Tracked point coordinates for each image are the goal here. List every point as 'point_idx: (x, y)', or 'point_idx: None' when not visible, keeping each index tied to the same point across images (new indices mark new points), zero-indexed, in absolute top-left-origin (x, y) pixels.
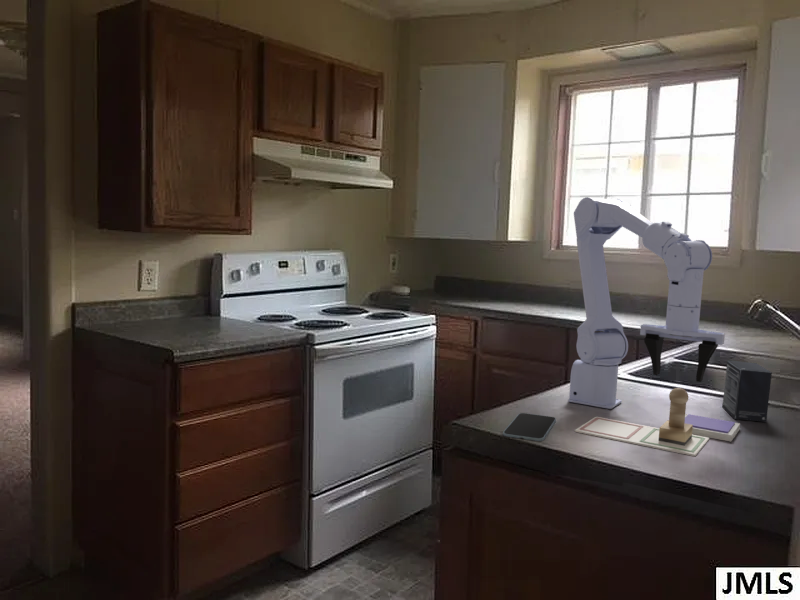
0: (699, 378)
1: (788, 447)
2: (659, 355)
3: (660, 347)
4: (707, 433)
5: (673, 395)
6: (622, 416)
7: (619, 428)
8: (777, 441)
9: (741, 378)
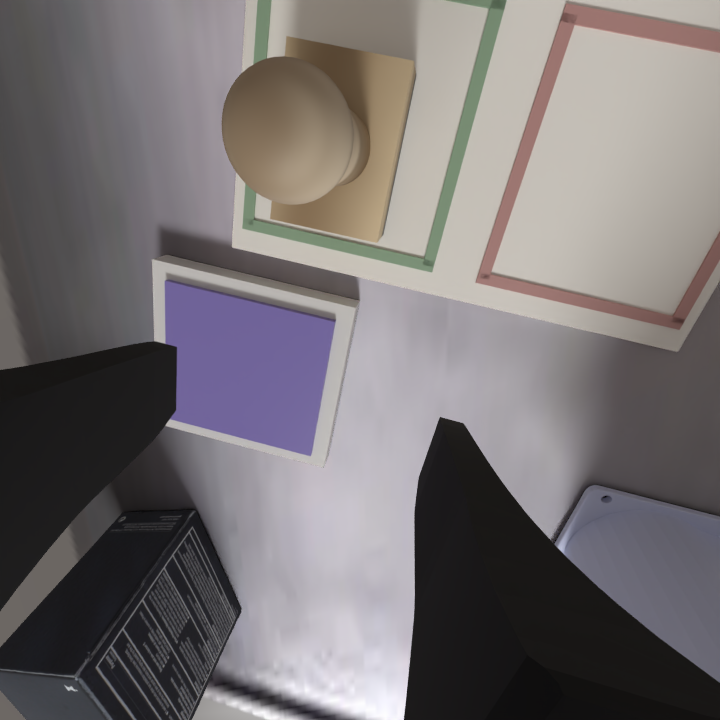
0: (141, 345)
1: (17, 280)
2: (429, 585)
3: (424, 680)
4: (237, 275)
5: (317, 70)
6: (548, 416)
7: (588, 199)
8: (57, 333)
9: (97, 636)
